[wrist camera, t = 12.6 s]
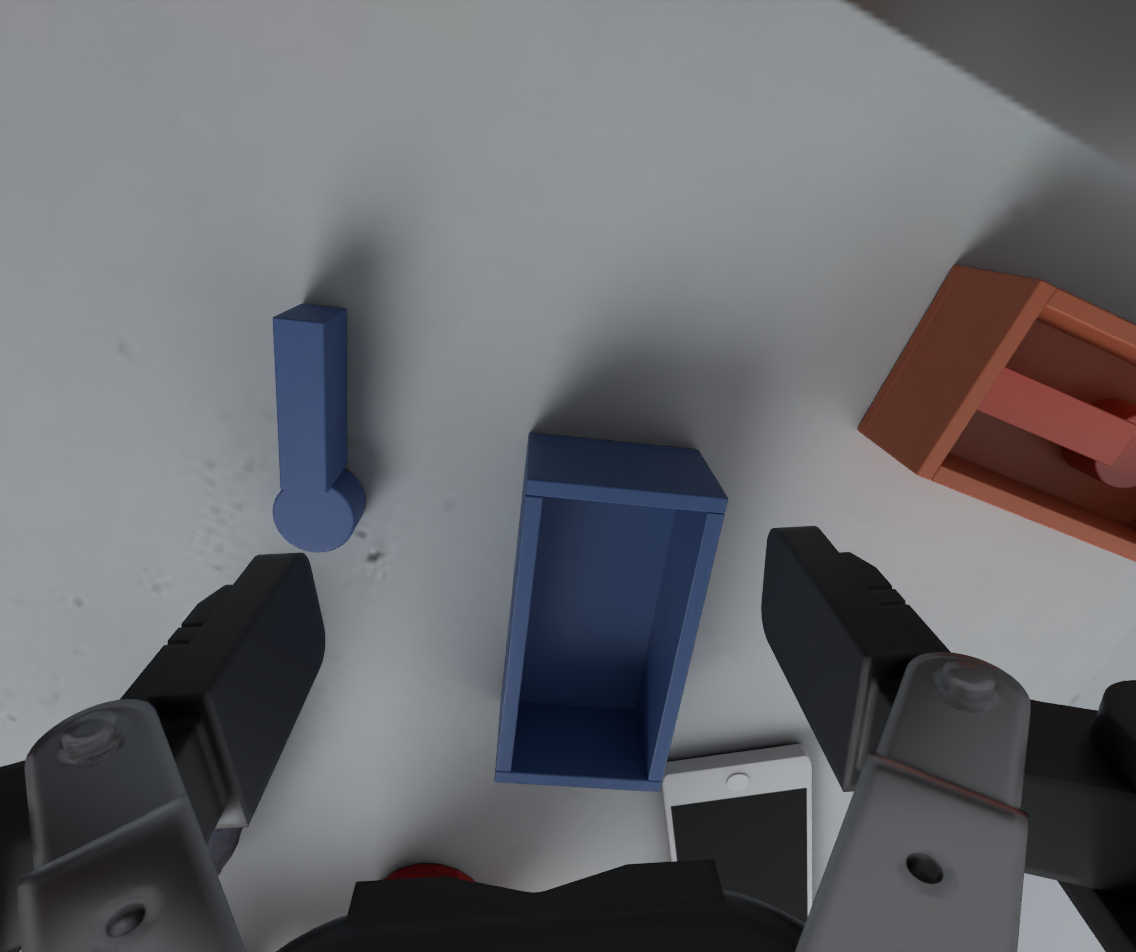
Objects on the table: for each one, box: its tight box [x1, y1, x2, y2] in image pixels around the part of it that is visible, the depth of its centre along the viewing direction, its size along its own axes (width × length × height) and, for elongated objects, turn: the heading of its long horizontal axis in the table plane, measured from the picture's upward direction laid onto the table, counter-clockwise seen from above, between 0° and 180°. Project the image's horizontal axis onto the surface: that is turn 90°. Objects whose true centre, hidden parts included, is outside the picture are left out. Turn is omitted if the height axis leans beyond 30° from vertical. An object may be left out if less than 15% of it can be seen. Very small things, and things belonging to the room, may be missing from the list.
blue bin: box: [495, 433, 728, 792], centre depth 27 cm, size 13×7×5 cm, turn 173°
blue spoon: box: [273, 304, 365, 552], centre depth 24 cm, size 9×3×3 cm, turn 173°
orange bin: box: [857, 265, 1136, 562], centre depth 24 cm, size 13×7×5 cm, turn 68°
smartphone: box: [661, 744, 812, 924], centre depth 35 cm, size 7×15×1 cm, turn 8°
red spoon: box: [977, 366, 1136, 488], centre depth 24 cm, size 9×3×3 cm, turn 68°
